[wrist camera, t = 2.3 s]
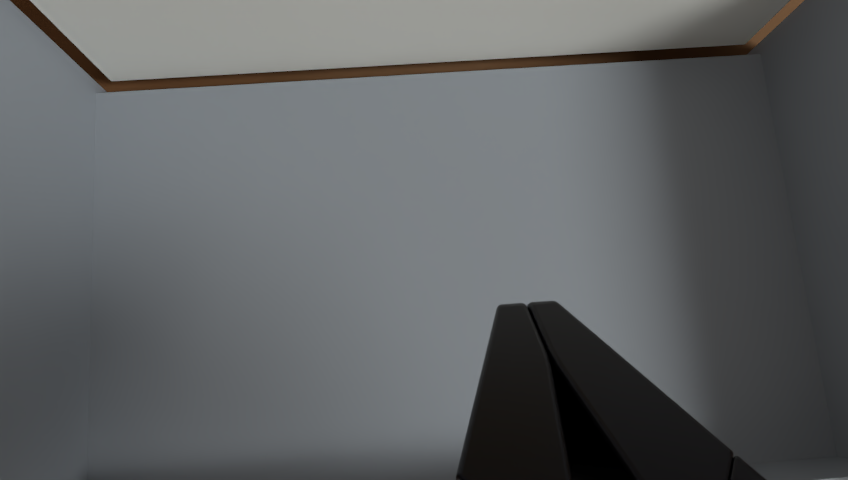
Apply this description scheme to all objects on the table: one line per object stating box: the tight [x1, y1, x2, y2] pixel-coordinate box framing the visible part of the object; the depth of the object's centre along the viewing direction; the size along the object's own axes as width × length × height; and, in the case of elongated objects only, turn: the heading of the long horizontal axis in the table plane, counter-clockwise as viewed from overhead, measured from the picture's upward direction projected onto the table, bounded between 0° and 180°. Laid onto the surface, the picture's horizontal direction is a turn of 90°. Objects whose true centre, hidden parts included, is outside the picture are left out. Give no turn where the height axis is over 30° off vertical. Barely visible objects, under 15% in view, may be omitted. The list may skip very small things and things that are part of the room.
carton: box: [0, 0, 848, 480], centre depth 19 cm, size 15×25×7 cm, turn 94°
